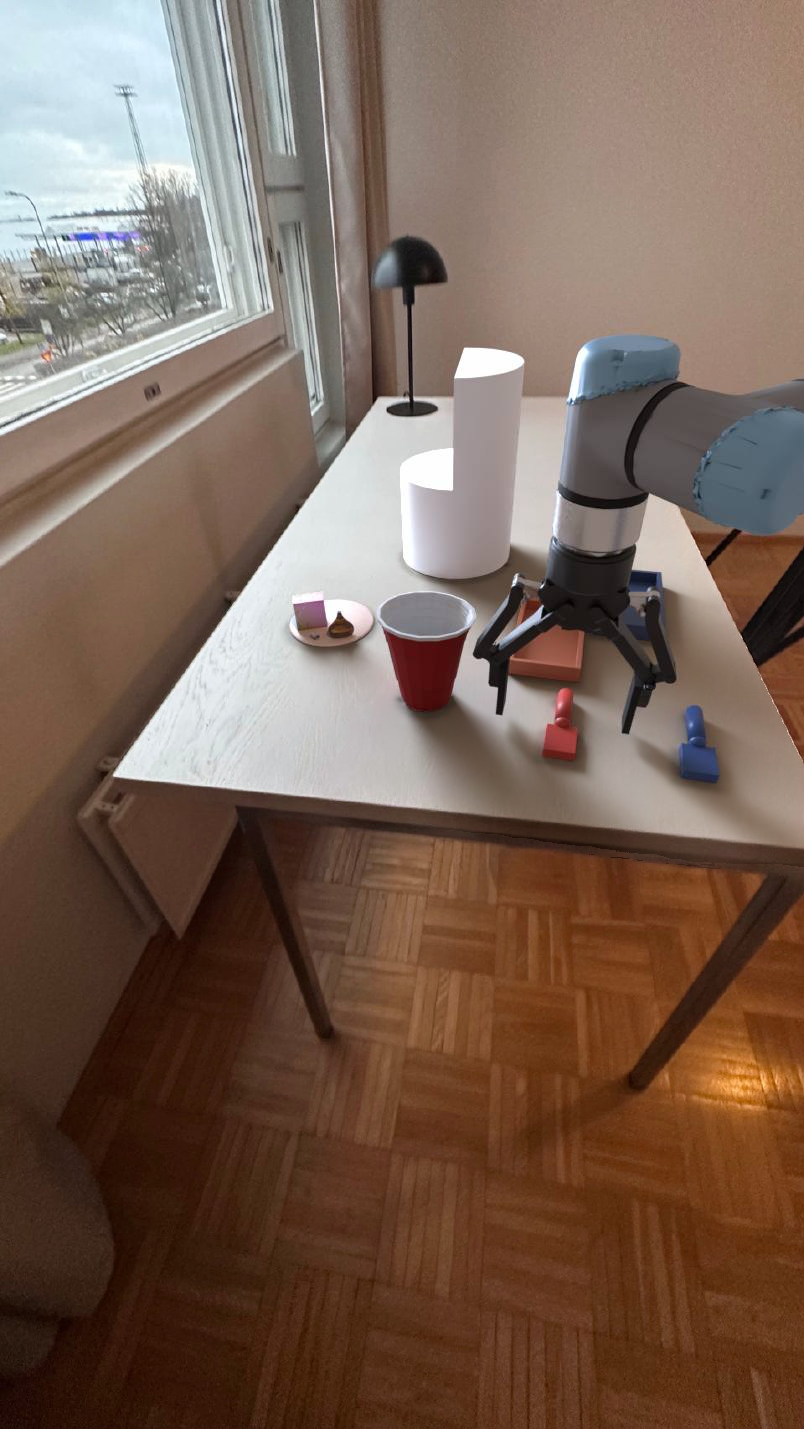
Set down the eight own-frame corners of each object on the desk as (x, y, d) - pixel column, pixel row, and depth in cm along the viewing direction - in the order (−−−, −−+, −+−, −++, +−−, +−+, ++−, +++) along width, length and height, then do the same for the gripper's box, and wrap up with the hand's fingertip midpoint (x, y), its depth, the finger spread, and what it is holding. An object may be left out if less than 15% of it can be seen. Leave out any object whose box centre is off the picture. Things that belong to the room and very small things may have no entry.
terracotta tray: (584, 616, 88) (587, 603, 86) (578, 682, 77) (581, 668, 75) (521, 610, 90) (523, 597, 88) (506, 673, 79) (508, 659, 77)
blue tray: (658, 584, 93) (661, 572, 92) (661, 642, 82) (665, 628, 81) (597, 579, 95) (599, 566, 94) (593, 634, 84) (595, 620, 83)
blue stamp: (675, 711, 72) (679, 699, 71) (707, 716, 71) (711, 703, 70) (680, 777, 64) (685, 765, 63) (716, 783, 64) (721, 771, 62)
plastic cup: (488, 685, 77) (493, 599, 69) (444, 737, 70) (445, 648, 62) (412, 659, 82) (409, 576, 74) (364, 706, 75) (356, 620, 67)
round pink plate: (291, 652, 84) (286, 623, 81) (286, 606, 93) (281, 579, 90) (380, 639, 85) (378, 610, 82) (367, 595, 94) (364, 568, 91)
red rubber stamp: (550, 695, 75) (552, 683, 74) (580, 698, 74) (582, 687, 73) (541, 756, 67) (543, 744, 66) (574, 761, 67) (576, 749, 65)
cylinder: (510, 531, 109) (524, 347, 90) (507, 581, 96) (524, 378, 78) (411, 528, 111) (405, 348, 93) (395, 576, 98) (385, 378, 80)
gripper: (740, 531, 56) (678, 711, 70) (463, 509, 62) (458, 680, 76) (751, 572, 51) (682, 758, 65) (447, 544, 56) (444, 721, 70)
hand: (561, 716), depth 70 cm, fingers open, 13 cm apart
